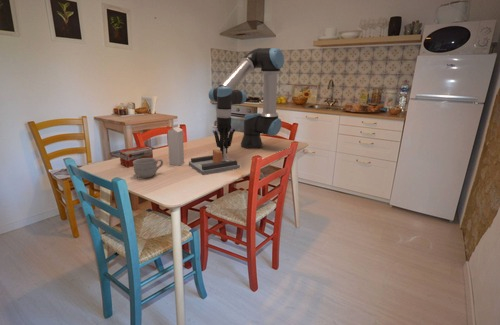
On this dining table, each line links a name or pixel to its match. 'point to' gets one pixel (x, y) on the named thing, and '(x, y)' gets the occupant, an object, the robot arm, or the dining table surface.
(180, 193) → the dining table surface
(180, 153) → the milk
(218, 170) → the panel
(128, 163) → the medicine box
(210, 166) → the set of dark strips
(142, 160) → the teacup
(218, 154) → the orange rectangular block
